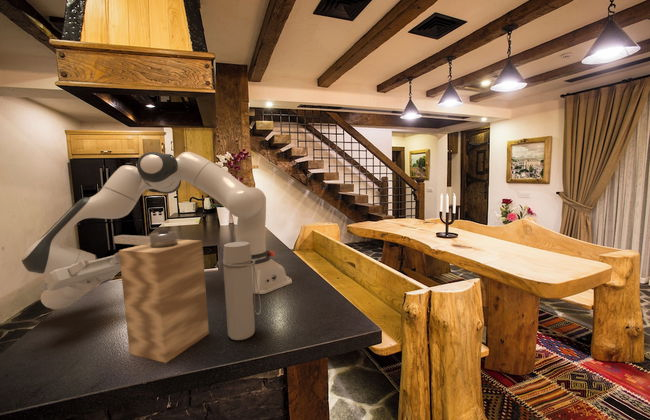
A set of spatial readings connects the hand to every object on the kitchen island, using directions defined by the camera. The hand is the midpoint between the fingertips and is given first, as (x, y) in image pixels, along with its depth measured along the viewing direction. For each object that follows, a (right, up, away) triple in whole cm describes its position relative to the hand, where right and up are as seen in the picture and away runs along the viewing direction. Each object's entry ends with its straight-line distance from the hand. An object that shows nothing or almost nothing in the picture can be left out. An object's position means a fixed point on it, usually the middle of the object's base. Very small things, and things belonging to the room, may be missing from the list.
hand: (104, 258), depth 85 cm
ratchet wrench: (+15, +5, -7) cm, 18 cm away
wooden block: (+22, -21, -6) cm, 31 cm away
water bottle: (+40, -20, -2) cm, 45 cm away
